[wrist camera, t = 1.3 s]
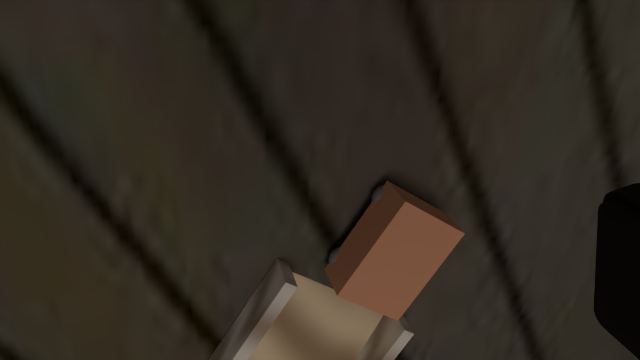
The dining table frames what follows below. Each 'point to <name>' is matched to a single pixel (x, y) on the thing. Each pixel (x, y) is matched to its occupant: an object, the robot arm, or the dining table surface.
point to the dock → (308, 324)
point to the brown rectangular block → (392, 252)
